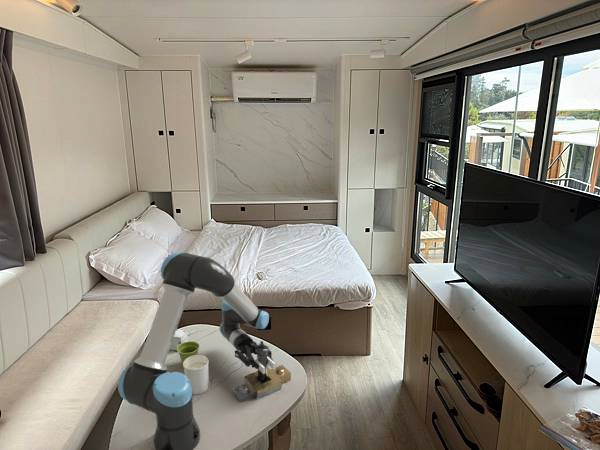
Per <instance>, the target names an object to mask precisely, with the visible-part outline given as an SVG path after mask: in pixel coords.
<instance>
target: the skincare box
mask: <svg viewBox="0 0 600 450" xmlns="http://www.w3.org/2000/svg"><path fill="white" fill-rule="evenodd" d="M184 342H189V340H188V331H187V330H183V329H182V330H181V329H176V332H175V335H174V338H173V341H172V344H171V346H170V349H169V350H171V351H177V347H178V346H179V345H180V344H182V343H184Z"/></svg>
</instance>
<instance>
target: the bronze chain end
mask: <svg viewBox="0 0 600 450" xmlns="http://www.w3.org/2000/svg"><path fill="white" fill-rule="evenodd" d="M291 377H292V373H291V371H290V370H289V369H288V368H286V366H284V365H283V364H281V365H278V366H277V367H276V366H275V370H273V369H272V368H271V369H270V368H269V367H268V380H269V381H267V382H262V383H261V384H260V383H258V382H257V381H256V380H258V370H257V371H254V372H251V373H250V374H246V375H244V376H243V378H244V380H243V382H244V381H245V382H246V383H247V384H248V385H249V386H250V387H251V388H252V389H253V391H254V392H255V393H256V394H257V395H259V394H261V393H263V392H266V391H268V390H270V389H273V388H275V387H277V386H279V385H282V384H285V383H288V382H290V381H291V379H292V378H291Z"/></svg>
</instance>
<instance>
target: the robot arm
mask: <svg viewBox="0 0 600 450" xmlns="http://www.w3.org/2000/svg"><path fill="white" fill-rule="evenodd" d="M160 273H161V274H160V276H161V279H162V280H163V281H162V283H161V285H162V288H163V289H164V291H163V294H162V296H161V298H160V302H159V304H158V305H159V306H158V307H157V310H156V312H155V315H154V319H153V321H152V324H151V327H150V330H149V331H148V332H149V333H148V334H147V338H146V340H145V343H144V345H143V348H142V351H141V353H140V355H139V357H138V358H136V359H134V361H133V363H132V364H131V365H128V366H126V368H125V370H123V371H122V373H121V375H120V377H119V379H118V385H117V388H118V393H119V395H120V397H121V398H122V400H124V401H127V403H128V404H131V405H135V406H136V407H137V406H138V407H139V408H142V409H144V410H146V411H149V412H152V413H153V414H155V415H156V416H155V417H156V423H157V426H156V428H155V431H154V432H155V433H154V435H153V446H154V450H194V449H195V448H196V447H197V446H198V444H199V443H200V440H201V430H200V429H201V428H200V426H199V424H198V422H197V420H196V419H195V417H194V407H193V406H194V405H193V394H192V389H191V385H190V381H189V379H188V378H187V377H186V376H185V373H184V374H183V373H181V372H179V371H172V372H170V371H168V367H167V365H166V360H167V357H168V355H169V352H170V350H171V349H170V346H171V344H172V341H173V338H174V335H175V332H176V330H178V326H179V323H180V320H181V318H182V315H183V313H184V309H185V305H186V303H187V301H188V297H190V296H191V295H194V293H195V289H199V290H202V291H206V292H210V293H211V294H212V295H214V296H215V297H218V298H220V299H222V302H221V319H222V322H221V323H220V325H219V332H220V334H221V335H222V336H223V337H224V338H225V339H226V340H227V342H229V343H230V344H231V346H233V347H234V348H235V350H234V358H237V359H238V360H240V362H242V363H243V364H244V365H245V366H246V367H251V368H252V369H253V368H255V369H256V370H258V369H259V370H260V371H261V372H262V373H263V374H265V367H264V366H263V365H262V364H261V363H260V362H259V361H258V360H257V358H256V359H255V358H254V357H253V354H254V355H256V356H257V354H256V352H255V348H256V347H257V346H259V345H265V343H264V341H263V340H260V341H259V342H258V343H257V342H256V341H254V340H253V339H252V337H251V336H250V335H249V334H247V332H246V331H244V330H243V329H242V328H241V327H240V324H242V325H245V326H248V327H252V328H254V329H260V330H264V329H266V328H267V326H268V324H269V322H270V321H269V320H270V315H269V313H268V312H267V311H266V310H265V311H264V310H261V309H259V308H258V307H257V306H256V305H255V304H254V303H253V301H252V300H251V299H250V298H249V297H248V296H247V295H246V294H245V293H244V292H243V290H242V289H241V288H240V287H239V286H238V285H237V283H236V282H235V281H236V280H235V278H234V276H233V275H232V274H231V273H230V272H229V271H228V270H227V269H226V268H225V267H224V266H223V265H221V264H220V262H217V261H216V260H214V259H212V258H210V257H207V256H201V255H197V254H194V253H188V252H181V251H180V252H179V251H175V252H173V253H171V254H169V255H168V256H166V257H165V259H164V260H163V261H162V264H161V267H160ZM267 365H268V366H269V367H270V368H271V369H273V370H275V368H276V363H275V361H274V359H273V358H272V351H271V349H269V352H268V353H267Z"/></svg>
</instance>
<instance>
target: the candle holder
mask: <svg viewBox="0 0 600 450" xmlns="http://www.w3.org/2000/svg"><path fill="white" fill-rule="evenodd" d="M182 366H183V373H184V375H185V376H186V377H187V378H188V379H189V381H190V385H191V389H192V395H195V396H196V395H200V394H201V395H202V394H203V393H205V392H206V391H208V389H209V358H208V357H207V356H205V355H202V354H198V355H194V356H191V357H189V358H187V359H186V360H185V361H184V362H183V365H182Z"/></svg>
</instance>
